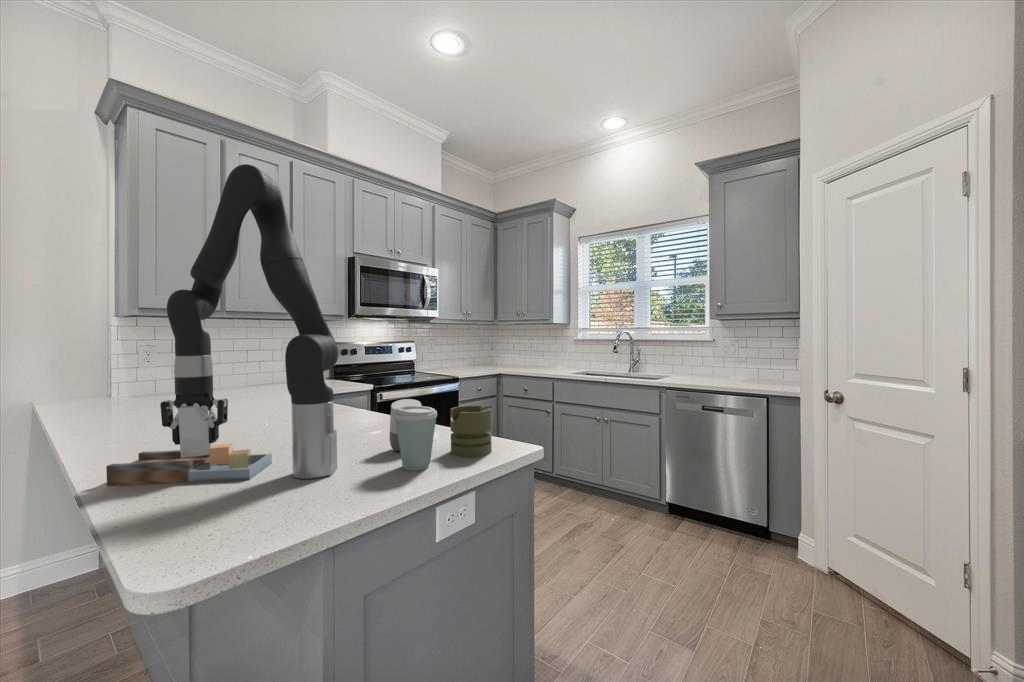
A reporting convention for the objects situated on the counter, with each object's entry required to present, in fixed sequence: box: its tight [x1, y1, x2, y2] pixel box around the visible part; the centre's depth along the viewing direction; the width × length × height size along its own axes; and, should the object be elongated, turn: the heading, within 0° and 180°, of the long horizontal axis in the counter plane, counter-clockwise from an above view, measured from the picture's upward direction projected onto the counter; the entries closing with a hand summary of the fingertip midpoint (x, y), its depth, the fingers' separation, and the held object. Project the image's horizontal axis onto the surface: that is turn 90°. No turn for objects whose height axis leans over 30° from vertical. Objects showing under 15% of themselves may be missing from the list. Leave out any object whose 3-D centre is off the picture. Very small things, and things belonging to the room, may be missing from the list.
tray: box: [187, 453, 273, 484], centre depth 110 cm, size 13×13×2 cm
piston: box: [449, 405, 493, 459], centre depth 126 cm, size 11×12×11 cm
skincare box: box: [177, 406, 213, 458], centre depth 109 cm, size 6×4×12 cm
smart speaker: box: [389, 398, 423, 453], centre depth 129 cm, size 10×9×14 cm
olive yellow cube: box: [229, 448, 252, 469], centre depth 111 cm, size 4×4×4 cm
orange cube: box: [209, 442, 234, 465], centre depth 110 cm, size 4×4×4 cm
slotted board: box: [105, 449, 209, 487], centre depth 108 cm, size 17×12×4 cm
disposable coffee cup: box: [394, 405, 438, 471], centre depth 113 cm, size 11×11×15 cm
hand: (195, 443), depth 109 cm, fingers closed on skincare box, 7 cm apart
